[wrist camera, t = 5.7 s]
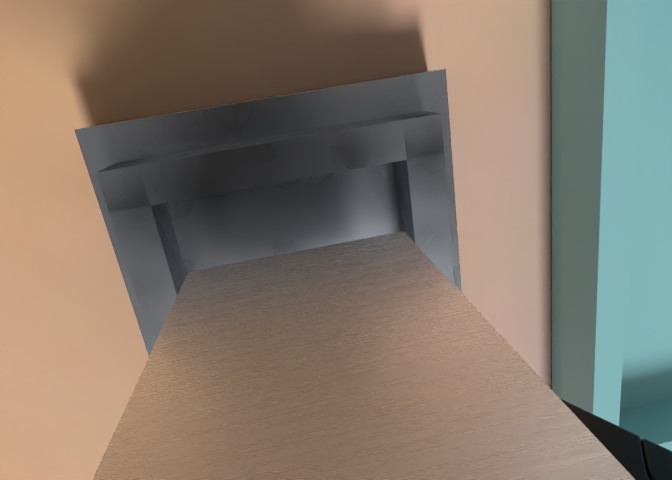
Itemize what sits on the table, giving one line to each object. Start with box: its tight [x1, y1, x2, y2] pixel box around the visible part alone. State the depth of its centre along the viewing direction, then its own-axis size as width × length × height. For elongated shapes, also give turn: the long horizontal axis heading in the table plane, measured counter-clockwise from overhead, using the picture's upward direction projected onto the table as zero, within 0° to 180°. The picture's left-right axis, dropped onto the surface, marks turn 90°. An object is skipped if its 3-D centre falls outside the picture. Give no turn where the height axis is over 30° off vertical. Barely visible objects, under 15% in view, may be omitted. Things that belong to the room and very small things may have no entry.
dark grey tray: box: [75, 69, 462, 356], centre depth 16 cm, size 20×10×3 cm, turn 9°
